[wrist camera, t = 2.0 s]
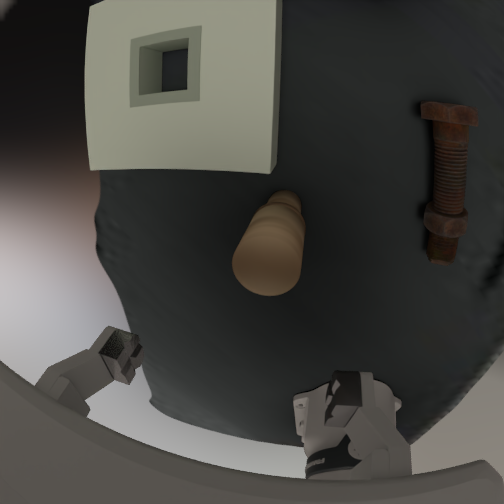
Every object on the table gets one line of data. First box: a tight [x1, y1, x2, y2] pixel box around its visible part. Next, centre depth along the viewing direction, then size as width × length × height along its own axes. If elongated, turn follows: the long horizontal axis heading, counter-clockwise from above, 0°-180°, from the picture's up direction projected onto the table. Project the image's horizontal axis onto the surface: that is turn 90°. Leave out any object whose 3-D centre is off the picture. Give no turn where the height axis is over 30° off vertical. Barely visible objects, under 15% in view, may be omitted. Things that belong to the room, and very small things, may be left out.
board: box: [85, 0, 282, 174], centre depth 20 cm, size 18×18×4 cm
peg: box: [232, 190, 306, 296], centre depth 22 cm, size 4×4×11 cm
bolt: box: [421, 101, 478, 266], centre depth 20 cm, size 6×5×15 cm
